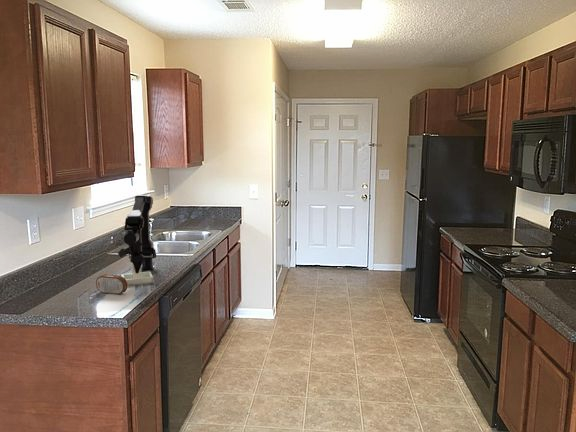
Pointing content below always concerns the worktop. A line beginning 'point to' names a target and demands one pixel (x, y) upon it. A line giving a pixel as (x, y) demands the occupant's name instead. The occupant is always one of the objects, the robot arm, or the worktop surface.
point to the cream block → (134, 274)
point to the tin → (111, 284)
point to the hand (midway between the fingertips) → (136, 272)
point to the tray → (138, 279)
